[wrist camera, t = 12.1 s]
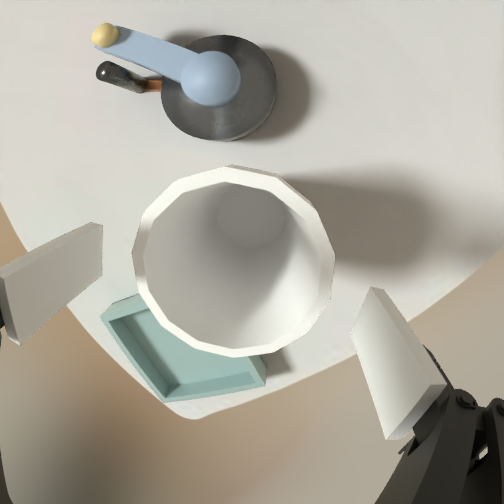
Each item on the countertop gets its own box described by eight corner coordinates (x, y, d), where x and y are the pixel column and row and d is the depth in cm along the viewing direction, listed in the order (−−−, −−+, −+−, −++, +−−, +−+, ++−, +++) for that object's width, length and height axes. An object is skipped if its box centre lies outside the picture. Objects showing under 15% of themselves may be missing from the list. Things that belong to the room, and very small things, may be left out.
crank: (252, 74, 18) (248, 60, 15) (223, 116, 19) (214, 110, 16) (125, 24, 16) (107, 11, 13) (102, 61, 17) (81, 52, 14)
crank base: (247, 26, 19) (238, -8, 13) (292, 118, 22) (299, 104, 15) (131, 83, 21) (94, 69, 15) (168, 171, 24) (135, 179, 18)
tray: (213, 265, 27) (206, 279, 24) (266, 367, 30) (265, 385, 28) (112, 303, 29) (99, 316, 26) (170, 386, 33) (163, 402, 30)
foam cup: (320, 239, 25) (359, 319, 13) (230, 279, 27) (198, 374, 15) (275, 142, 22) (276, 127, 10) (181, 190, 24) (101, 228, 12)
